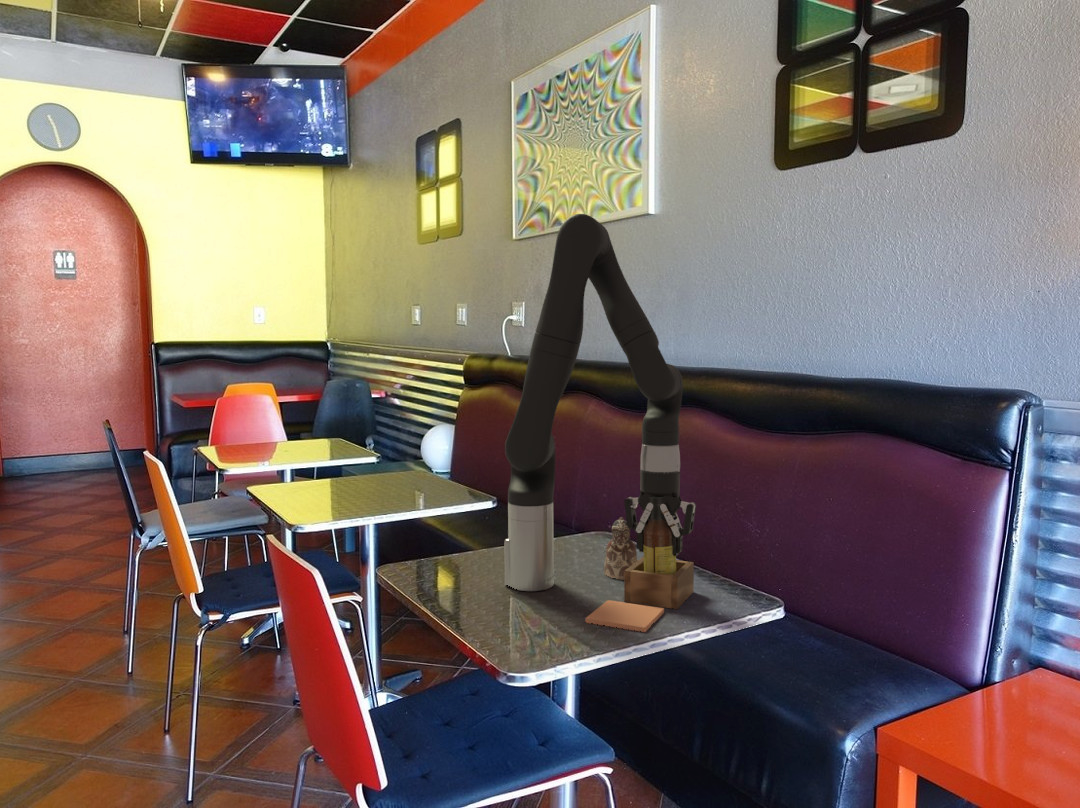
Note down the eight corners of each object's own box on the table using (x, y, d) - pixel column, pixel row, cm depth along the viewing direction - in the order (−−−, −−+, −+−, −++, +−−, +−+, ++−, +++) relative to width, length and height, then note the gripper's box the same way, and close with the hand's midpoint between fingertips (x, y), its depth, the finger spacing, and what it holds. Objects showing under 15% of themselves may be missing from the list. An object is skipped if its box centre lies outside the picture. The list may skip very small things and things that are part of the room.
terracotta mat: (585, 622, 138) (585, 618, 138) (607, 604, 148) (607, 600, 148) (645, 632, 133) (645, 627, 133) (664, 612, 143) (664, 608, 143)
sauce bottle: (681, 594, 153) (682, 494, 152) (669, 603, 148) (670, 499, 146) (650, 589, 157) (651, 491, 155) (637, 597, 151) (638, 496, 150)
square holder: (624, 601, 149) (624, 570, 149) (643, 585, 160) (643, 556, 159) (677, 609, 145) (677, 577, 144) (693, 591, 155) (693, 562, 155)
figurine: (601, 577, 165) (601, 521, 164) (607, 568, 172) (608, 514, 171) (634, 580, 163) (634, 523, 162) (640, 571, 170) (640, 516, 169)
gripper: (618, 467, 150) (617, 553, 151) (691, 472, 144) (690, 562, 145) (631, 462, 157) (630, 544, 158) (701, 467, 151) (700, 552, 152)
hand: (659, 552), depth 152 cm, fingers closed on sauce bottle, 6 cm apart
